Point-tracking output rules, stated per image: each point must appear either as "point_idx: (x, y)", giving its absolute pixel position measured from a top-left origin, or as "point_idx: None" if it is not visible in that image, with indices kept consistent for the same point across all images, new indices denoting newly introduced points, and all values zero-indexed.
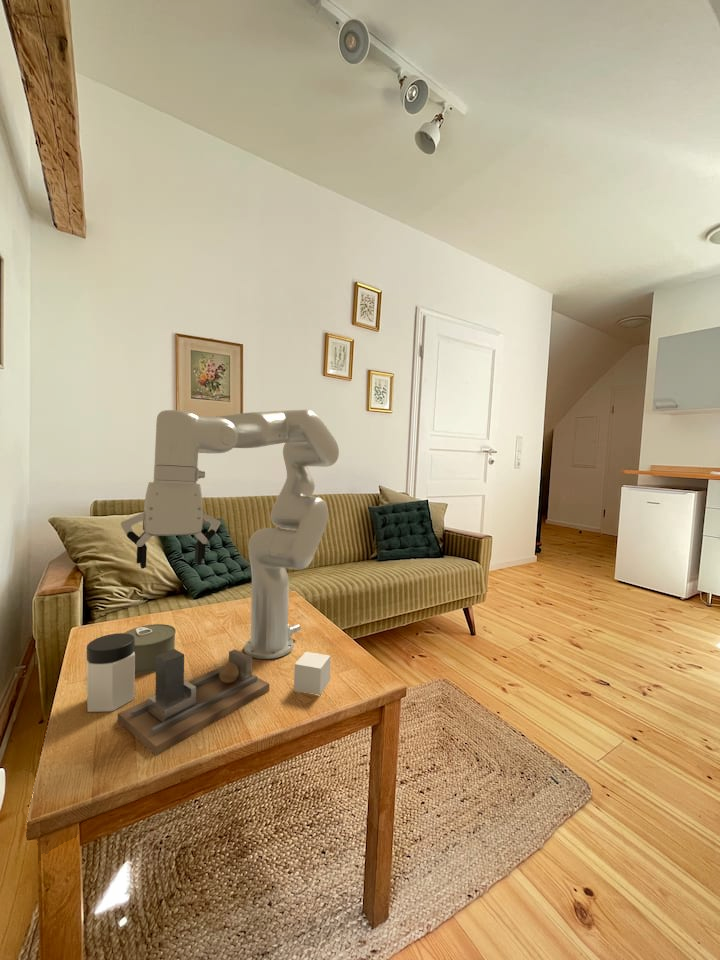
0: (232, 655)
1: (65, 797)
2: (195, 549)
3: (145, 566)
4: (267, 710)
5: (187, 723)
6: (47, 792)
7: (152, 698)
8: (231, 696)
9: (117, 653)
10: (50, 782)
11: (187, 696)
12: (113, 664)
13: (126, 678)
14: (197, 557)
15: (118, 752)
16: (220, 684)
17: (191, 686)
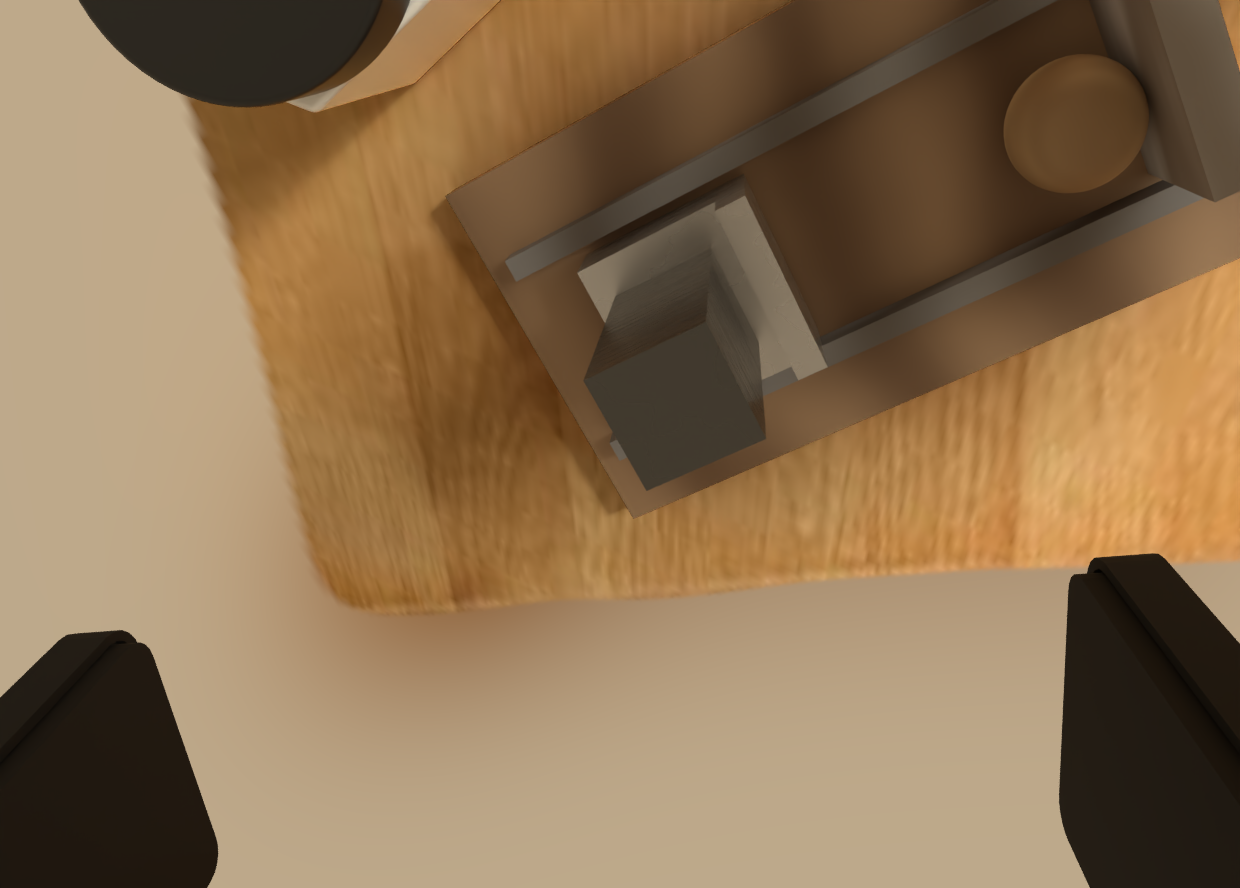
0: (1155, 40)
1: (374, 570)
2: (1186, 753)
3: (206, 875)
4: (1159, 409)
5: (765, 425)
6: (311, 525)
7: (600, 292)
8: (1019, 287)
9: (313, 93)
10: (303, 482)
11: (777, 351)
12: (320, 109)
13: (430, 36)
14: (1107, 872)
15: (497, 421)
16: (997, 121)
17: (803, 352)
